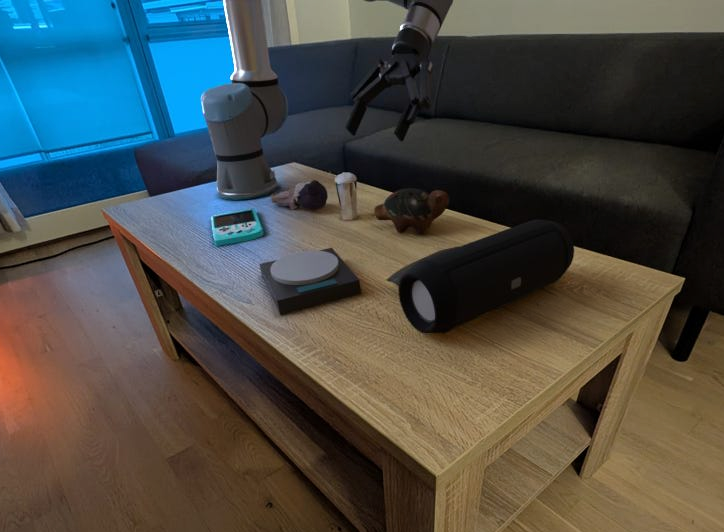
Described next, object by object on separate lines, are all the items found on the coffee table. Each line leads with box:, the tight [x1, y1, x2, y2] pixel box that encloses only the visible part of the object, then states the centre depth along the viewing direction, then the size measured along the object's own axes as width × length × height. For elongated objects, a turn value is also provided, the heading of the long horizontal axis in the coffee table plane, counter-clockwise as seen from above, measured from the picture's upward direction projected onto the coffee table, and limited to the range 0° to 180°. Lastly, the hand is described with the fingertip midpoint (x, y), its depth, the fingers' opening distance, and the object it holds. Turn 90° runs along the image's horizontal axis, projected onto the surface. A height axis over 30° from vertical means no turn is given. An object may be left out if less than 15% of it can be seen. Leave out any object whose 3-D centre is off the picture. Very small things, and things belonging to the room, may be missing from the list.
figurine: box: [270, 179, 329, 212], centre depth 102 cm, size 10×6×15 cm
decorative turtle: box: [373, 188, 450, 236], centre depth 88 cm, size 10×15×8 cm, turn 76°
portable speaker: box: [398, 218, 575, 335], centre depth 62 cm, size 26×10×10 cm, turn 124°
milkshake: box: [329, 170, 358, 221], centre depth 94 cm, size 4×5×10 cm
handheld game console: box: [210, 208, 264, 247], centre depth 96 cm, size 10×16×1 cm, turn 20°
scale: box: [258, 247, 362, 316], centre depth 73 cm, size 14×13×3 cm
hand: (373, 134), depth 94 cm, fingers open, 13 cm apart
